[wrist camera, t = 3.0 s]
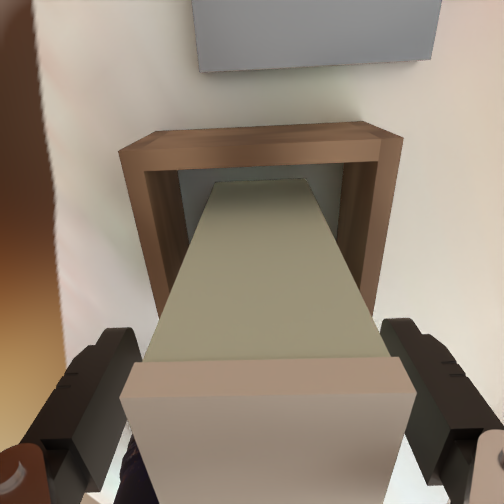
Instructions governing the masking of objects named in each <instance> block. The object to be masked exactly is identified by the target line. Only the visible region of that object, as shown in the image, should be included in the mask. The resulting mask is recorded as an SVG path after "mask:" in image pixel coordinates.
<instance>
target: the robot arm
mask: <svg viewBox="0 0 504 504" xmlns="http://www.w3.org/2000/svg"><path fill="white" fill-rule="evenodd" d="M380 335H381V337H382V339H383V341H384V344H385V346H386V348H387V350H388V352H389V354H390V356H391V357H399V358H400V360H401V362H402V364H403V366H404V368H405V370H406V372H407V374H408V376H409V378H410V380H411V382H412V384H413V386H414V388H415V390H416V392H417V394H416V397H415V401H414V404H413V407H412V410H411V414H410V417H409V420H408V423H407V427H406V430H405V435H406V438H407V440H408V442H409V445H410V447H411V449H412V451H413V454H414V456H415V458H416V461H417V463H418V465H419V468H420V470H421V472H422V475H423V477H424V479H425V482H426V484H427V486H434V485H443V486H444V488H445V490H446V492H447V494H448V497H449V500H448V502H447V504H504V426H503V424H502V423H501V422H500V420H499V419H498V417H497V416H496V415H495V413H494V412H493V411H492V409H491V408H490V407H489V405H488V404H487V402H486V401H485V400H484V398H483V397H482V396H481V394H480V393H479V391H478V390H477V389H476V387H475V386H474V385H473V383H472V382H471V380H470V379H469V378H468V377H466V375H465V372H464V371H463V369H462V368H461V367H460V365H459V364H457V363H456V360H455V358H454V357H453V356H452V354H451V353H450V352H449V350H448V349H447V347H446V346H444V345H443V344H442V343H441V342H439V341H438V340H437V339H435V338H434V337H433V336H431V335H430V334H421V332H420V331H419V329H418V328H417V326H416V325H415V323H414V322H413V320H412V319H410V318H392V319H384V320H383V321H382V325H381V330H380ZM135 362H142V357H141V354H140V350H139V347H138V343H137V340H136V337H135V333H134V331H133V329H132V328H131V327H125V328H107V329H105V330H104V331H103V333H102V334H101V336H100V338H99V339H98V341H97V343H96V345H88V346H87V347H86V348H85V349H84V350H83V351H82V352H81V353H79V354H78V355H77V356H76V357H75V358H74V359H73V360H72V362H71V364H70V365H69V367H68V368H67V370H66V372H65V374H64V376H62V378H61V379H60V381H59V382H58V384H57V386H56V389H54V390H53V392H52V393H51V395H50V397H49V398H48V400H47V401H46V403H45V404H44V406H43V407H42V409H41V410H40V412H39V414H38V415H37V417H36V418H35V420H34V421H33V423H32V425H31V426H30V428H29V429H28V431H27V432H26V434H25V435H24V437H23V439H22V440H21V441H20V443H19V444H18V445H15V446H12V447H10V448H8V449H6V450H4V451H2V452H0V504H80V502H81V500H82V498H83V495H84V493H87V492H101V489H102V486H103V483H104V481H105V478H106V475H107V473H108V470H109V467H110V464H111V462H112V459H113V456H114V454H115V451H116V448H117V445H118V443H119V440H120V437H121V435H122V432H123V429H124V426H125V424H126V421H127V417H126V414H125V412H124V409H123V406H122V404H121V401H120V399H119V397H120V395H121V393H122V390H123V388H124V386H125V383H126V381H127V379H128V377H129V374H130V372H131V370H132V367H133V365H134V363H135Z"/></svg>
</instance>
